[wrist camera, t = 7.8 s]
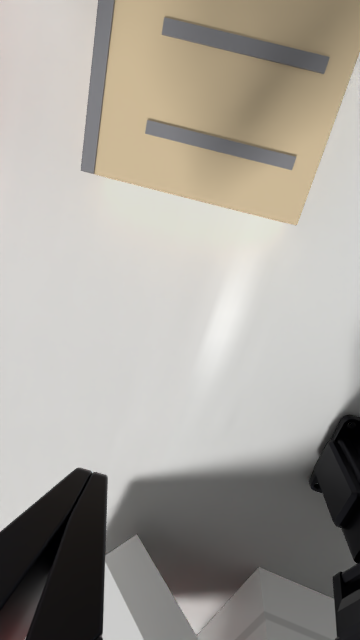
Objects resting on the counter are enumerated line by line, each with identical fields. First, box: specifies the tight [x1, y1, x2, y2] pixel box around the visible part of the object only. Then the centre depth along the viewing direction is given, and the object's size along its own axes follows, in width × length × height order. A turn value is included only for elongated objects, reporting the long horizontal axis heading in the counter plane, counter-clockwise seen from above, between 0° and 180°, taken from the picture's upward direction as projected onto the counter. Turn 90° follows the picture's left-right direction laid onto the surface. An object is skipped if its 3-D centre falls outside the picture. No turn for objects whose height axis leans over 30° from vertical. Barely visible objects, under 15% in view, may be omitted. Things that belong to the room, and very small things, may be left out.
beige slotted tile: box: [81, 0, 360, 225], centre depth 13 cm, size 10×9×3 cm
